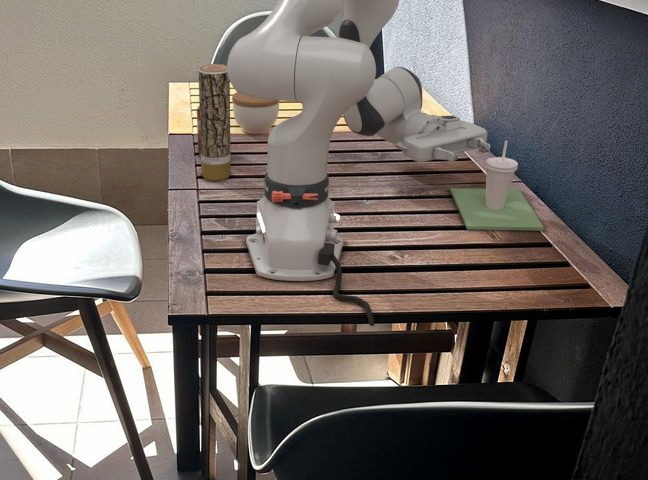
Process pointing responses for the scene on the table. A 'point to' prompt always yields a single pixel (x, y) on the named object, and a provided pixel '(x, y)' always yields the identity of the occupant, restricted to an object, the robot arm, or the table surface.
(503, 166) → the smoothie
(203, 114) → the paper tube
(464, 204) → the pad
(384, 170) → the table surface
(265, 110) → the lidded bowl
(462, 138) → the robot arm
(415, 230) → the table surface
